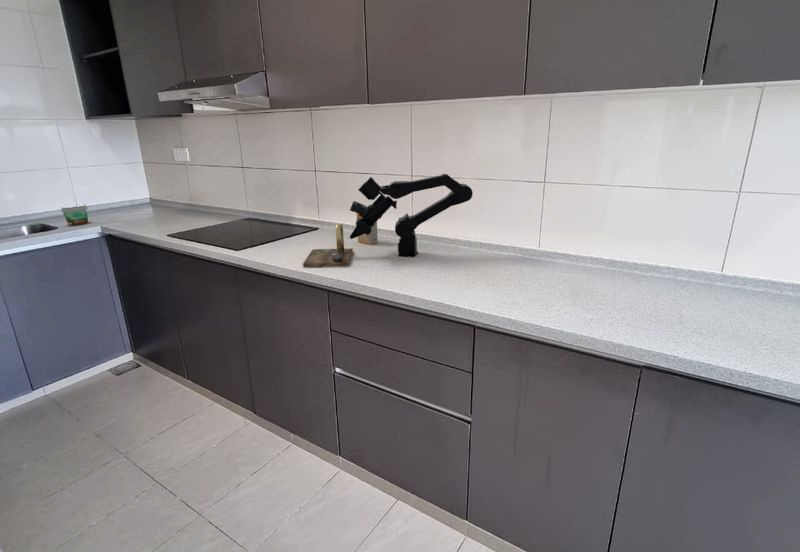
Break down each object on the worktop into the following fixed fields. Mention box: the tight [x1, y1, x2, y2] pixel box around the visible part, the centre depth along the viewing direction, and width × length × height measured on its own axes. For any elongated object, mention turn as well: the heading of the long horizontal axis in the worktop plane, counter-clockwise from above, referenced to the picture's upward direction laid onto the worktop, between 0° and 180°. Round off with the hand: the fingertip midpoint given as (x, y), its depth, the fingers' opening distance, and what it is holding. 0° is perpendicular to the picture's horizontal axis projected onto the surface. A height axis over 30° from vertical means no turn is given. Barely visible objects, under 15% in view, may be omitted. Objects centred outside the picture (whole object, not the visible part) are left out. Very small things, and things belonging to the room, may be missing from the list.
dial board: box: [302, 247, 354, 268], centre depth 165 cm, size 16×19×2 cm
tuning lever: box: [332, 223, 345, 261], centre depth 163 cm, size 4×17×10 cm, turn 1°
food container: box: [60, 204, 89, 227], centre depth 238 cm, size 12×6×10 cm, turn 148°
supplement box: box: [356, 213, 379, 245], centre depth 186 cm, size 8×5×13 cm, turn 45°
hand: (350, 238), depth 167 cm, fingers closed
